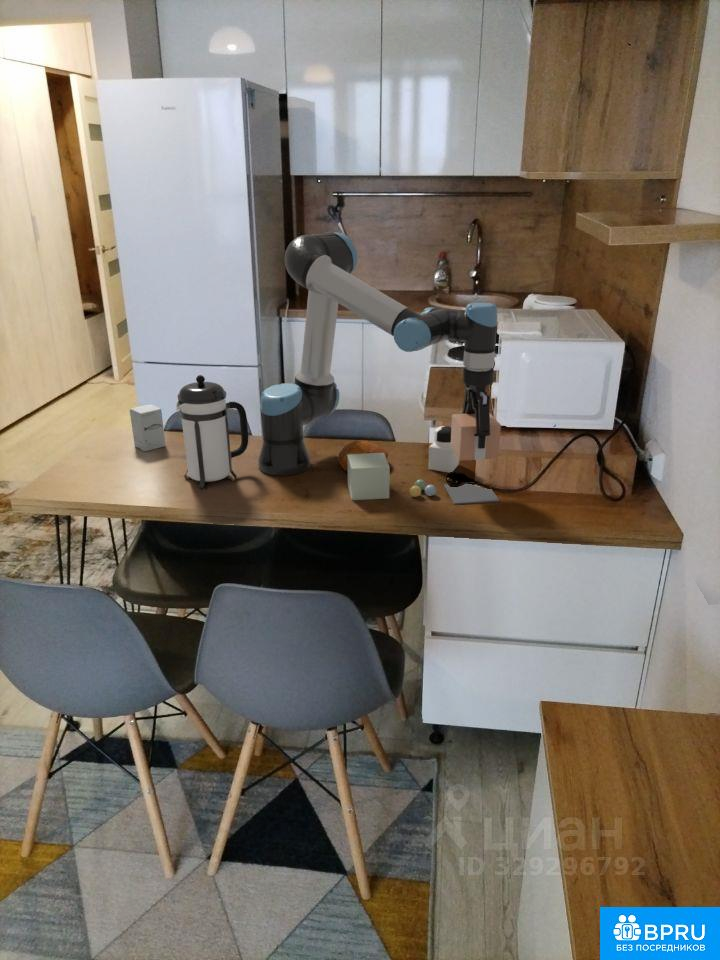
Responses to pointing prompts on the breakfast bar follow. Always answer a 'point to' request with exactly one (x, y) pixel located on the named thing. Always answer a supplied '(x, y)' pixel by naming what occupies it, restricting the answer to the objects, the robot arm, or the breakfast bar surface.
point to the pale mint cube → (368, 476)
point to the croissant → (358, 451)
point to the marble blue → (430, 490)
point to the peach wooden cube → (472, 437)
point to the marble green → (420, 484)
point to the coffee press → (208, 431)
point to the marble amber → (415, 491)
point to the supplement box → (147, 427)
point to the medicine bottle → (442, 451)
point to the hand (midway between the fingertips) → (473, 451)
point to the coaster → (470, 494)
